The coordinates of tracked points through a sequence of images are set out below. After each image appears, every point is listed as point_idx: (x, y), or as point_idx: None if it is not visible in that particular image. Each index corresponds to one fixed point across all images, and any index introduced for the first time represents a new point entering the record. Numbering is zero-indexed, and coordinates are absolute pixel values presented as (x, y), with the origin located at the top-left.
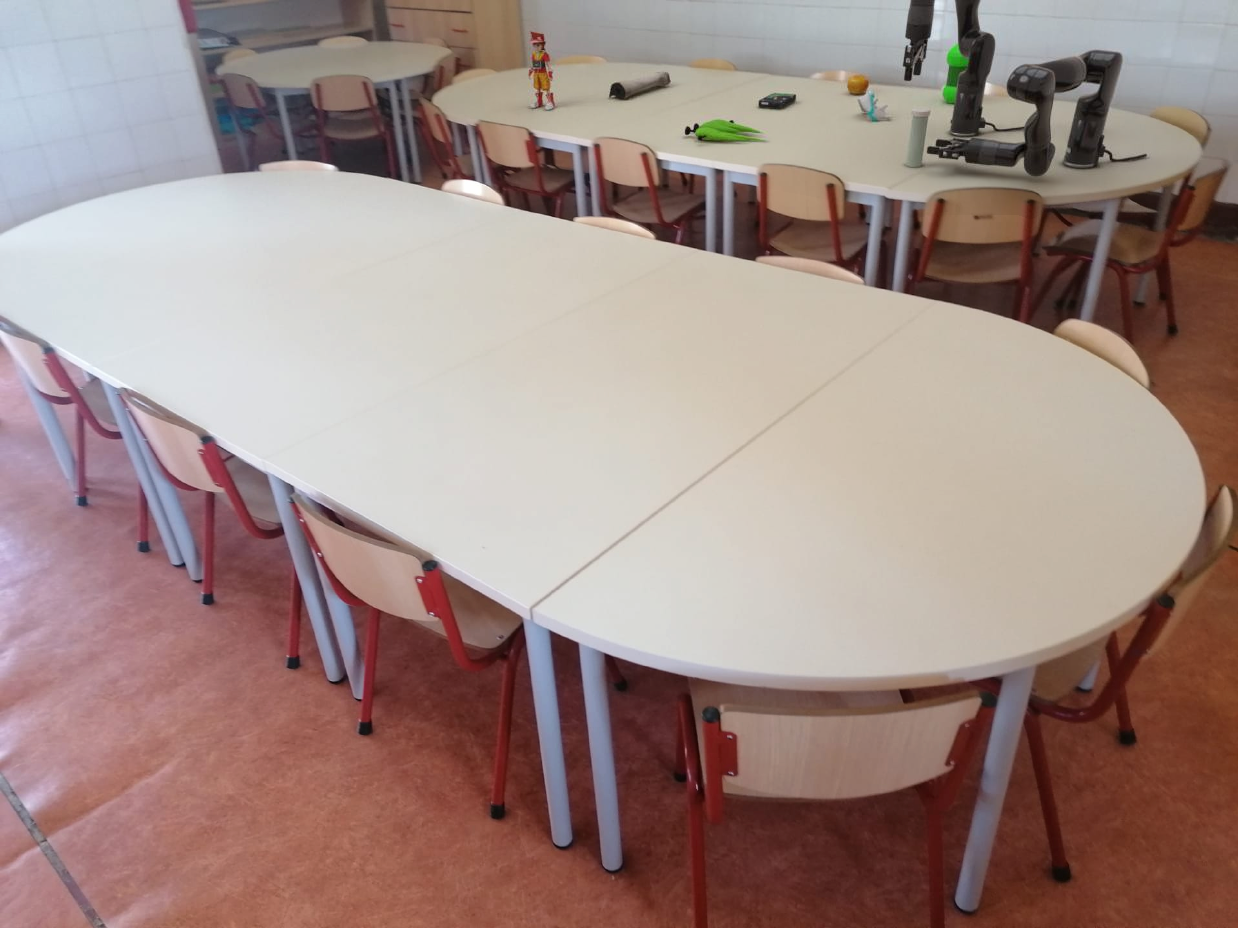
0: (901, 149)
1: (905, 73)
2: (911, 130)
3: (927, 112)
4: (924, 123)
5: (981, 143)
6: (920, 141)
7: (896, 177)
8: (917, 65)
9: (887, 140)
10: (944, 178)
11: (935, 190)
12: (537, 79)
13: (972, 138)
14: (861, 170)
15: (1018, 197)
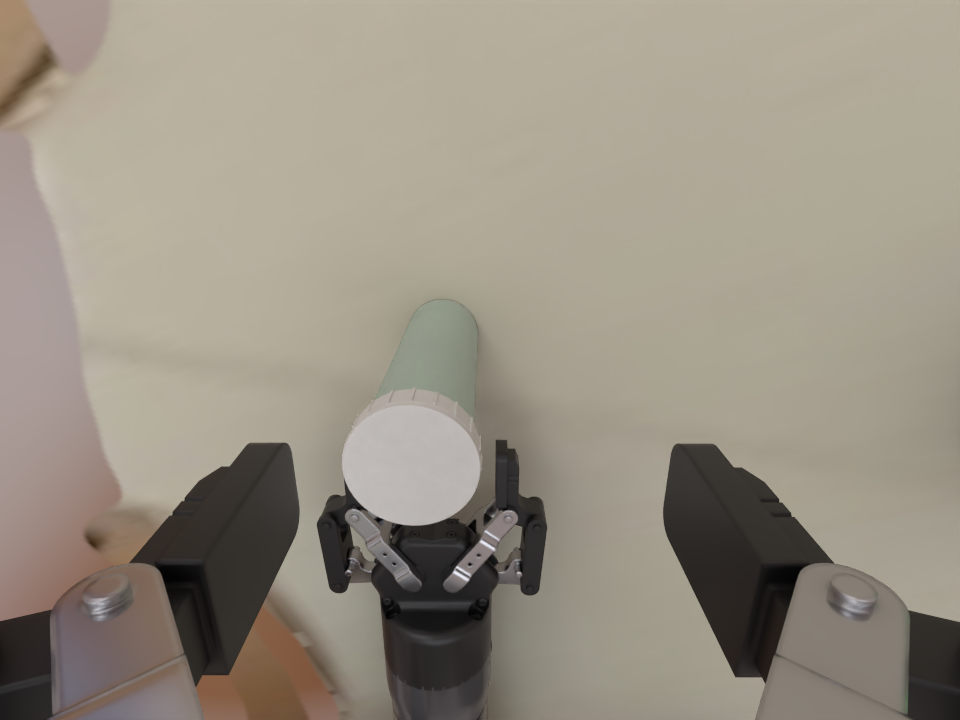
0: (690, 186)
1: (168, 524)
2: (392, 369)
3: (386, 514)
4: None
5: (401, 677)
6: None
7: (236, 322)
8: (731, 583)
9: (862, 38)
10: (328, 490)
11: (173, 501)
12: None
13: (428, 648)
14: (243, 124)
15: (261, 711)
